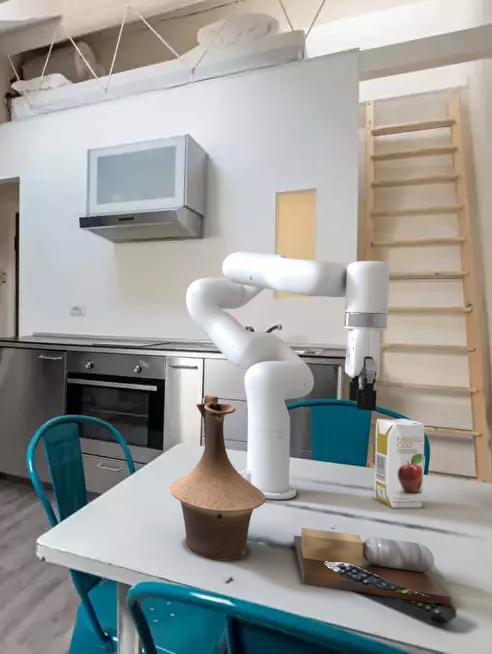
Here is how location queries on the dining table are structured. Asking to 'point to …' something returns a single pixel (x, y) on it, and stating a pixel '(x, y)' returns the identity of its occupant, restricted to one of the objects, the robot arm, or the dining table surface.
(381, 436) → the juice carton
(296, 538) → the chopping board
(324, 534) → the wood and marble capsule
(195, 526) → the pitcher
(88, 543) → the dining table surface
